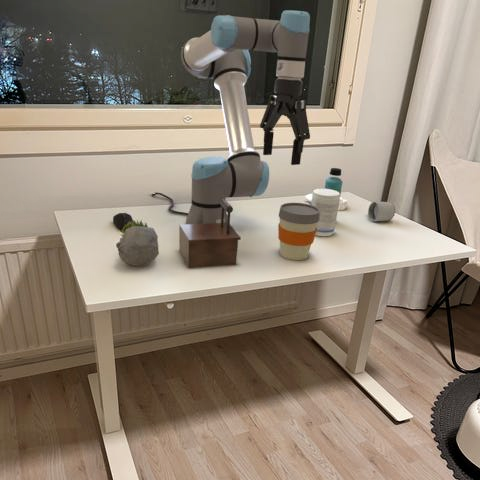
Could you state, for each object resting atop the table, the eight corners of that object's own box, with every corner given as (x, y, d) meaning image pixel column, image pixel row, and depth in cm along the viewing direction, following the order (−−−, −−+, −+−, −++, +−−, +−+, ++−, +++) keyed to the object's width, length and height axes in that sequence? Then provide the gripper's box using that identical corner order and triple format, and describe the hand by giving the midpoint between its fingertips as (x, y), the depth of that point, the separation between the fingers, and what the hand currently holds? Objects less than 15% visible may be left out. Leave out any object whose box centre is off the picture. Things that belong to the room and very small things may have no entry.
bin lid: (228, 225, 148) (229, 195, 144) (240, 239, 138) (243, 209, 134) (179, 227, 144) (179, 197, 139) (188, 242, 134) (189, 210, 129)
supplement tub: (339, 235, 171) (346, 194, 163) (319, 238, 166) (326, 197, 159) (321, 226, 178) (327, 187, 170) (301, 229, 173) (307, 189, 165)
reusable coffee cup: (282, 263, 145) (288, 215, 138) (268, 247, 156) (273, 202, 148) (319, 261, 149) (327, 214, 141) (304, 246, 159) (310, 202, 151)
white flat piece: (300, 199, 206) (326, 196, 213) (325, 212, 193) (353, 208, 200) (301, 191, 205) (327, 189, 211) (327, 203, 192) (354, 201, 198)
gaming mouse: (119, 235, 156) (118, 223, 154) (111, 220, 168) (111, 209, 166) (138, 233, 158) (138, 222, 156) (129, 219, 170) (129, 208, 168)
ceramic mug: (394, 223, 187) (398, 203, 183) (376, 224, 184) (380, 204, 181) (379, 214, 195) (383, 196, 192) (361, 215, 193) (365, 196, 189)
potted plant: (114, 263, 129) (97, 231, 137) (145, 280, 140) (128, 249, 148) (144, 231, 127) (125, 201, 135) (174, 251, 137) (154, 222, 145)
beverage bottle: (317, 223, 181) (326, 169, 170) (319, 217, 186) (327, 165, 176) (335, 225, 180) (344, 171, 169) (336, 220, 185) (345, 167, 175)
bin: (224, 248, 152) (225, 225, 148) (236, 264, 142) (238, 240, 138) (179, 251, 148) (179, 227, 144) (188, 268, 138) (188, 242, 134)
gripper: (252, 74, 136) (246, 151, 146) (308, 82, 118) (297, 169, 129) (273, 75, 140) (266, 150, 150) (330, 83, 122) (318, 168, 133)
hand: (280, 159), depth 140 cm, fingers open, 13 cm apart
